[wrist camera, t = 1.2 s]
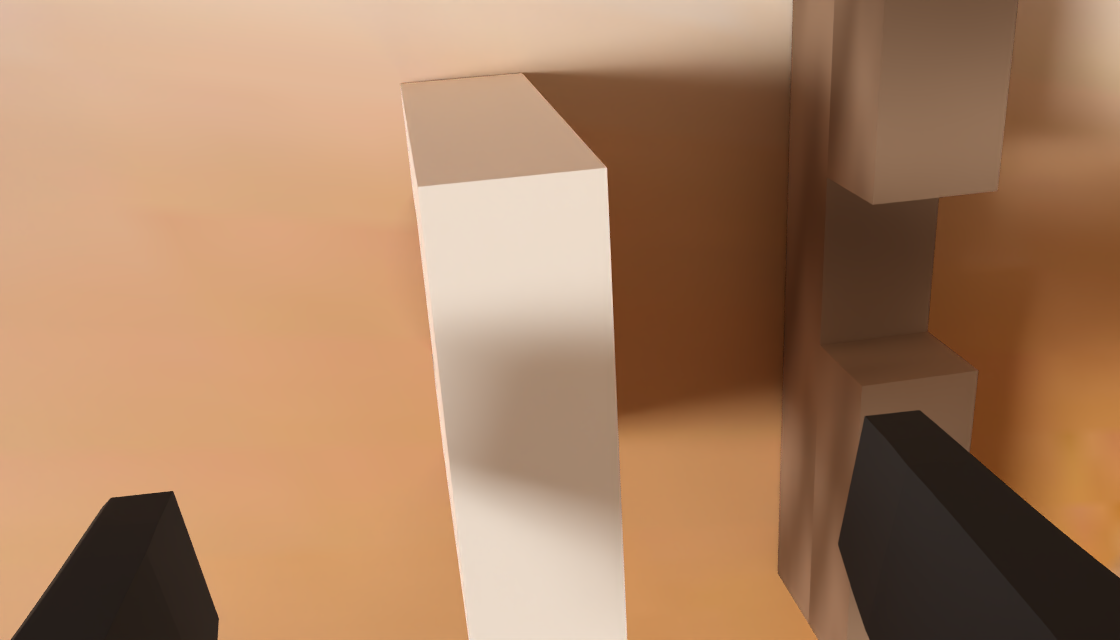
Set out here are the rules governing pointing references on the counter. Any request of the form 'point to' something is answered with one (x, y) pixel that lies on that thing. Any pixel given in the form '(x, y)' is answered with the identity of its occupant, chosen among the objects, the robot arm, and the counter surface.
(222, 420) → the counter surface
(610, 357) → the cream rectangular block
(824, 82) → the walnut slotted plate
